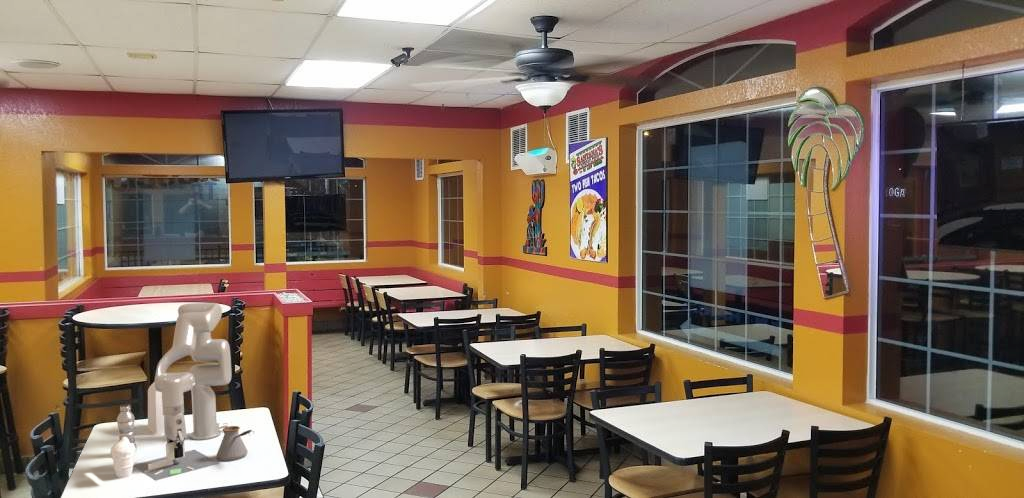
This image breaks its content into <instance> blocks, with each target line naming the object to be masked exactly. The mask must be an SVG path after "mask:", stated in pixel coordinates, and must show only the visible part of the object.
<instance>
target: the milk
mask: <svg viewBox="0 0 1024 498" xmlns="http://www.w3.org/2000/svg"><path fill="white" fill-rule="evenodd" d="M147 430H149V431H150V432H152V433H153V434H155V435H156V436H157V435H161V434H162V435H163V434H165V432H164V415H163V409H162V392H158V391H157V390H156V389H155V381H153V383H151V385H149V387H148V389H147Z"/></svg>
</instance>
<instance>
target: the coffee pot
mask: <svg viewBox="0 0 1024 498" xmlns="http://www.w3.org/2000/svg"><path fill="white" fill-rule="evenodd" d="M240 429H241V427H240V426H238V425H231V426H228V427H226V428H222V433H223V434H224V435H223V437H222V439H221V442H220V446H219V448H218V450H217V452H216V457H217V459H218V460H219V461H221V462H232V461H237V460H241V459H244V458H245V457H246V456H247V455H248V449H247V447H246V445H245V443H244V441H243V439H242V436H243V437H244V436H246V435H250V433H251V432H253V433H255V431H254V430H253V429H252V430H251V429H249V430H246V431H243V432H242V433H239V430H240Z"/></svg>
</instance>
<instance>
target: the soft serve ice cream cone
mask: <svg viewBox="0 0 1024 498" xmlns="http://www.w3.org/2000/svg"><path fill="white" fill-rule="evenodd" d="M135 450H136V451H137V447H136V448H135V446H134V445H133V444H131V443H130V442H129V439H128V438H127V437H123V438H122V439H121V440H120V441H119V440H118V441H117V443H116V444H114V445H113V446H112V447H111V448H110V452H109V453H110V455H111V456H112V460H113V461H112V462H113V468H114V471H115V474H116V478H117V479H126V478H129V477H131V476H133V475H132V474H133V470H134V469H133V468H134V466H133V465H134V464H135V463H134V459H135V458H134V456H135V452H136V451H135Z"/></svg>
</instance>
